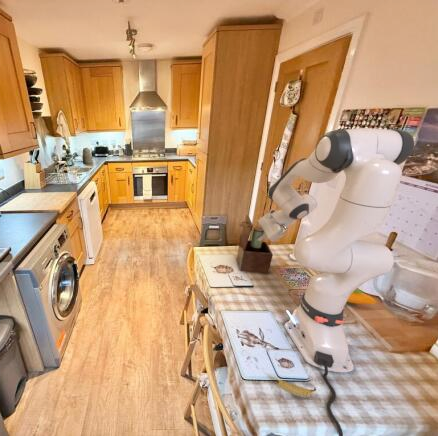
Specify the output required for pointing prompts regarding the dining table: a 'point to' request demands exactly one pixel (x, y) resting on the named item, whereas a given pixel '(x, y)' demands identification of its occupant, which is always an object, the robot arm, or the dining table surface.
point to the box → (254, 258)
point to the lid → (245, 231)
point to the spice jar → (256, 232)
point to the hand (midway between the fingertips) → (256, 236)
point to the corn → (360, 298)
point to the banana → (295, 389)
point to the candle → (302, 233)
